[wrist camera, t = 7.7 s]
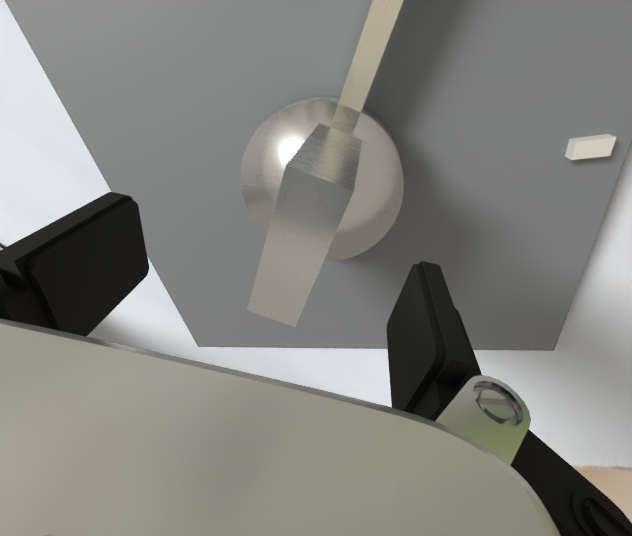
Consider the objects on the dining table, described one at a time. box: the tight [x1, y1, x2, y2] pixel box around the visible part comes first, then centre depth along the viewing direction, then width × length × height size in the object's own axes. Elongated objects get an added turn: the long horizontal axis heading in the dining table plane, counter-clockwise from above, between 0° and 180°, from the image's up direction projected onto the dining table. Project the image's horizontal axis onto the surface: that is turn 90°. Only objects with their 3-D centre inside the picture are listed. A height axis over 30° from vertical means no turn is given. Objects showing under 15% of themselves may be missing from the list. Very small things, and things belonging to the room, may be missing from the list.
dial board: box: [5, 0, 632, 351], centre depth 17 cm, size 28×28×4 cm
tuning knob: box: [240, 0, 404, 327], centre depth 12 cm, size 14×8×8 cm, turn 161°
